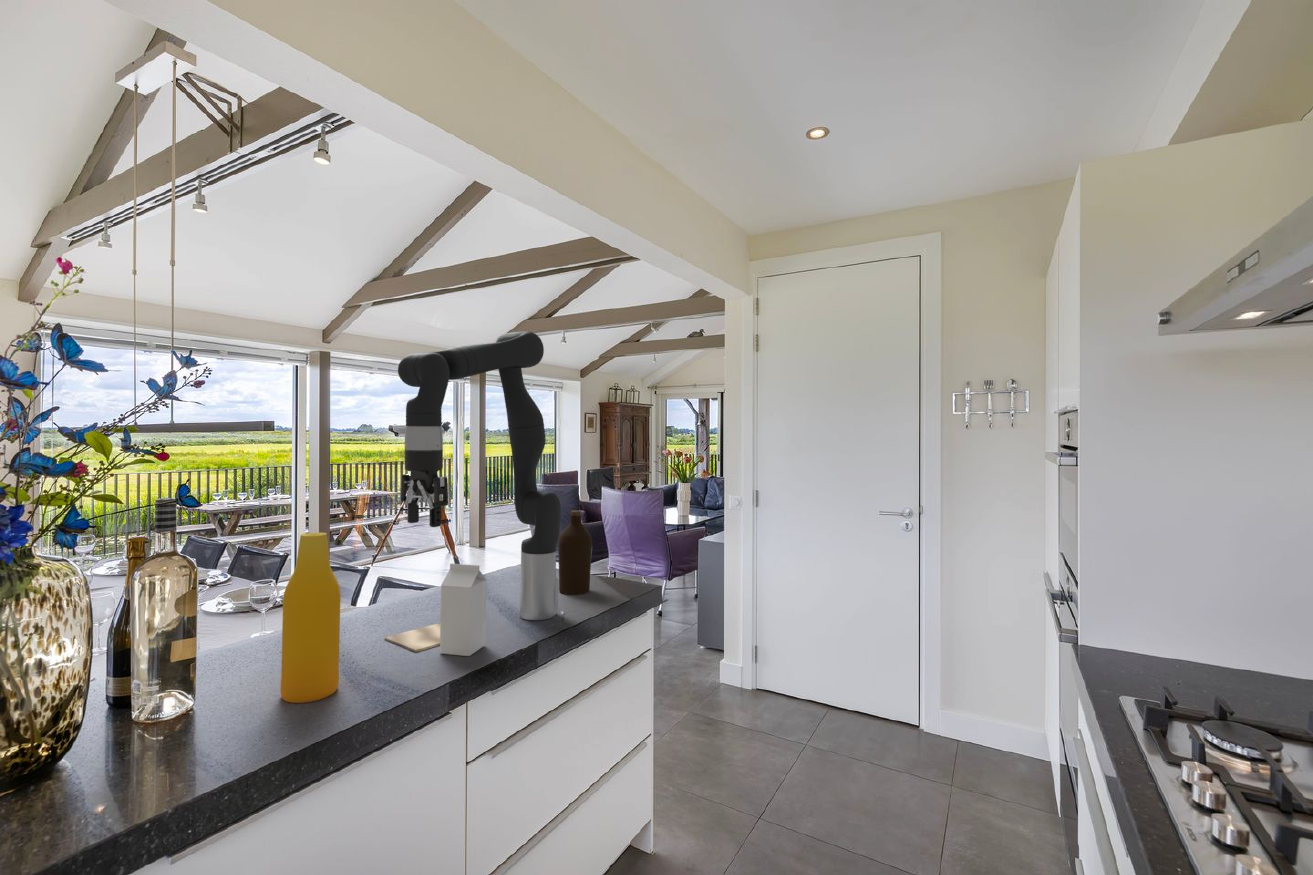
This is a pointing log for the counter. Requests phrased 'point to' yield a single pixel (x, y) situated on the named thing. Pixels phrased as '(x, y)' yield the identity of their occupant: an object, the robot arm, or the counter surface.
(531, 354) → the robot arm
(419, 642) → the cork mat
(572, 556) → the olive oil
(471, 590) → the milk carton
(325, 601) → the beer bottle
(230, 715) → the counter surface
